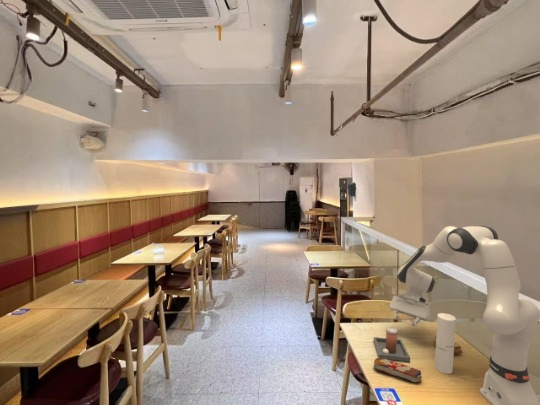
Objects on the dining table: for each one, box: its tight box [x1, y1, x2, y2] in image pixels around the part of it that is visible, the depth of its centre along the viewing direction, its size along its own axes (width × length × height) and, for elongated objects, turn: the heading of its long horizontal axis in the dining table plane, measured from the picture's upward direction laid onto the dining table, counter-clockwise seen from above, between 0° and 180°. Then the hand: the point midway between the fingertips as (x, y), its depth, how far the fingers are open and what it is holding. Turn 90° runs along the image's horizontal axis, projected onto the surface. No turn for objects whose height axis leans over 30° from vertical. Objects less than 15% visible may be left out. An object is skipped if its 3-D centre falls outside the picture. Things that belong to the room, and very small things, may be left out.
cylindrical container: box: [434, 312, 457, 375], centre depth 136 cm, size 7×7×25 cm
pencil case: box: [373, 357, 423, 383], centre depth 133 cm, size 11×20×5 cm, turn 46°
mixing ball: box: [382, 349, 389, 354], centre depth 147 cm, size 3×3×3 cm
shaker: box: [385, 326, 398, 353], centre depth 150 cm, size 5×5×11 cm
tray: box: [373, 336, 411, 364], centre depth 150 cm, size 16×14×2 cm
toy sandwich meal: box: [432, 335, 463, 355], centre depth 154 cm, size 12×14×5 cm
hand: (404, 322), depth 157 cm, fingers open, 8 cm apart
